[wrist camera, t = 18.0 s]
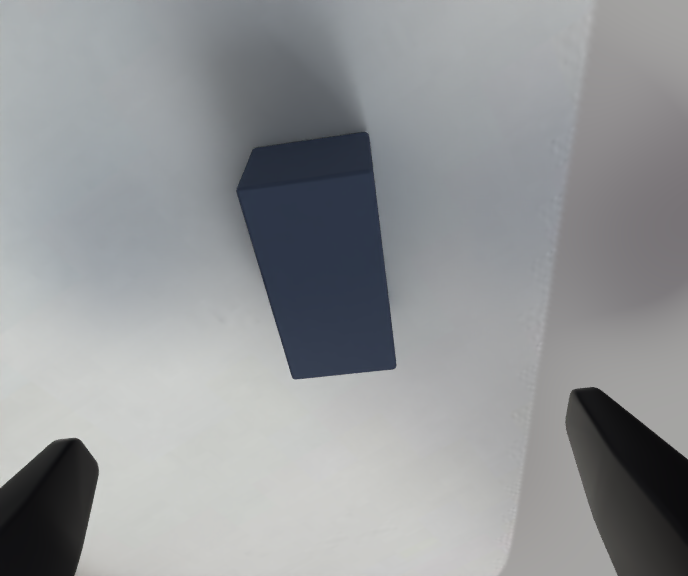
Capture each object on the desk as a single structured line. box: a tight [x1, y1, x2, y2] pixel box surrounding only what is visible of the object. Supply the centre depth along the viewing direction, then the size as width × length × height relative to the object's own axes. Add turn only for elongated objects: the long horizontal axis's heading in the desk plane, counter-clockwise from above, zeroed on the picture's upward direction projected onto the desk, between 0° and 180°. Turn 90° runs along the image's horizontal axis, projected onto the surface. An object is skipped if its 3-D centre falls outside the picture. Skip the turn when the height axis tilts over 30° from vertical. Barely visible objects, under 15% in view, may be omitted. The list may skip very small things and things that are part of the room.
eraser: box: [236, 132, 396, 379], centre depth 13 cm, size 6×3×2 cm, turn 9°
